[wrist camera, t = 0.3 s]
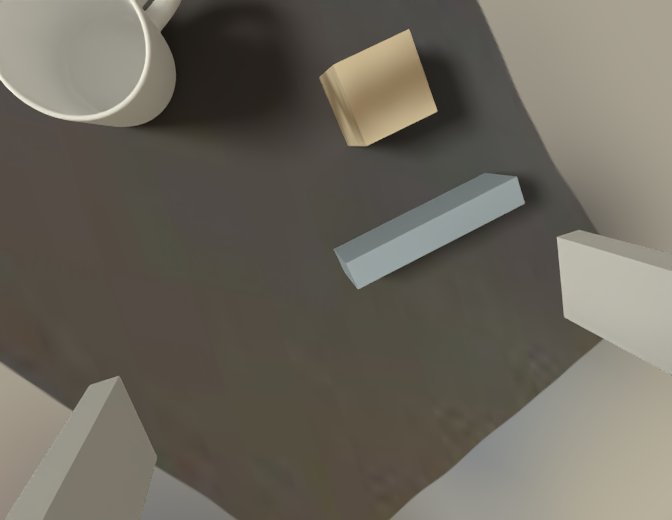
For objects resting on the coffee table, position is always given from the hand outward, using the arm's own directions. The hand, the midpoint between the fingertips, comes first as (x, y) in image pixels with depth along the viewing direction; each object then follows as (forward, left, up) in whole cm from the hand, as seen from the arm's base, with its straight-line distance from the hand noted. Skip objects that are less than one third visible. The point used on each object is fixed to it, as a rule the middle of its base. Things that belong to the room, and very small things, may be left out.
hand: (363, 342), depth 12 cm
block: (-5, +11, -27) cm, 29 cm away
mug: (-15, -4, -27) cm, 31 cm away
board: (+7, +11, -27) cm, 29 cm away
